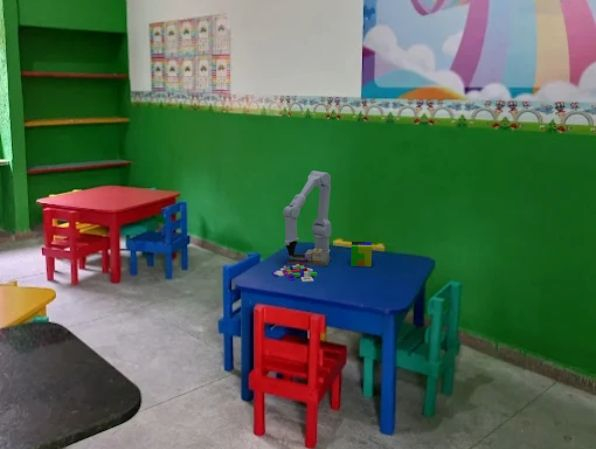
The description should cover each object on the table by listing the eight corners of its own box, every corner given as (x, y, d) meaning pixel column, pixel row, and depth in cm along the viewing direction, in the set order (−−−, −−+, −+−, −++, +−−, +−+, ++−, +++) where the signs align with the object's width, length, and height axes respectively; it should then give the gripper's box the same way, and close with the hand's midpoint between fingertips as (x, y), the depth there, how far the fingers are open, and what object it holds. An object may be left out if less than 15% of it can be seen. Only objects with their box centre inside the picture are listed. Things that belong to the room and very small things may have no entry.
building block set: (269, 268, 306) (269, 259, 305) (310, 266, 309) (310, 257, 308) (275, 284, 282) (275, 275, 281) (319, 282, 285) (319, 272, 284)
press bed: (292, 257, 322) (292, 247, 321) (330, 259, 318) (330, 249, 316) (287, 264, 311) (287, 253, 309) (326, 266, 306) (326, 256, 305)
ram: (308, 256, 318) (308, 249, 317) (314, 256, 317) (314, 249, 316) (305, 260, 310) (305, 253, 309) (310, 261, 310) (311, 254, 309)
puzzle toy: (370, 260, 317) (371, 241, 314) (371, 266, 307) (371, 247, 305) (351, 260, 318) (351, 241, 315) (351, 265, 308) (351, 246, 306)
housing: (313, 258, 316) (314, 248, 314) (322, 258, 315) (322, 248, 313) (312, 260, 311) (312, 250, 310) (321, 261, 310) (321, 251, 309)
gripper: (294, 233, 304) (294, 259, 308) (302, 226, 318) (302, 252, 321) (280, 232, 306) (281, 258, 310) (289, 225, 320) (289, 251, 323)
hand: (291, 255), depth 315 cm, fingers closed
